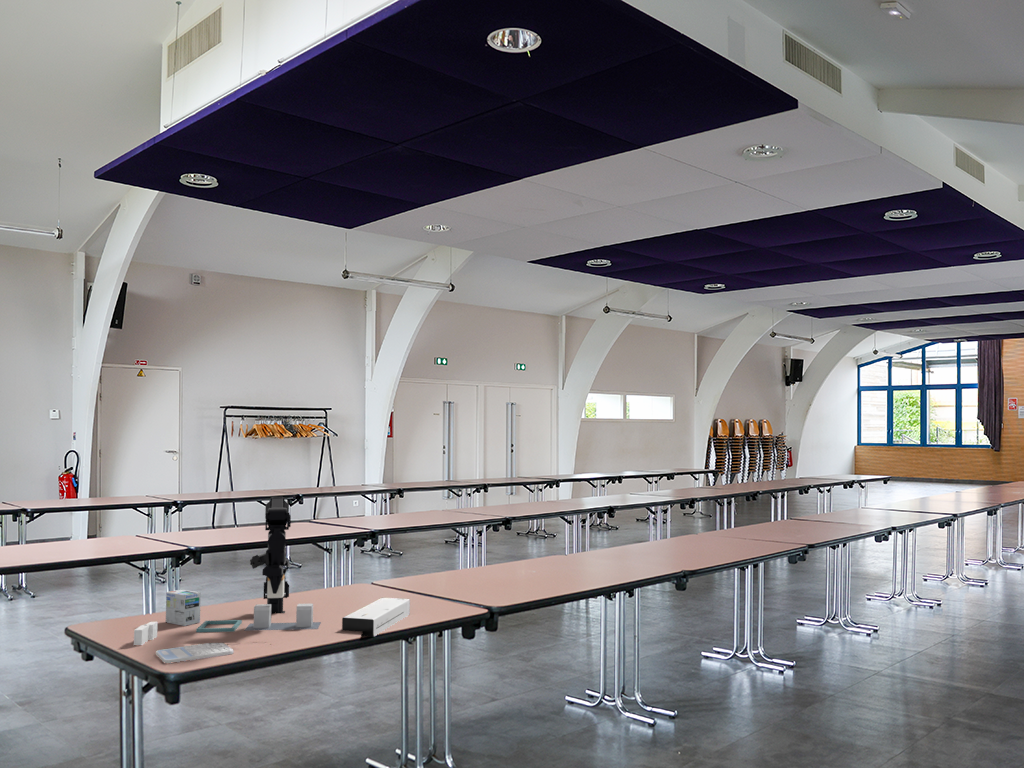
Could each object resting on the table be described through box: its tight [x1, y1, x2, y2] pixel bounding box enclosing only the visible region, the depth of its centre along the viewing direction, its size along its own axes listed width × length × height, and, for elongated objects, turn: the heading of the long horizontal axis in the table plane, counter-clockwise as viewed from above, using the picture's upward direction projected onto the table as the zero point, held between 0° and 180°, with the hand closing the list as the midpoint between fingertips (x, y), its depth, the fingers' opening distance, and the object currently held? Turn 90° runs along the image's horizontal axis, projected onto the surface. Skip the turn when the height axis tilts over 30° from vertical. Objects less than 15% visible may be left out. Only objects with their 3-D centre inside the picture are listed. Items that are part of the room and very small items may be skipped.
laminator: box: [341, 597, 411, 638], centre depth 291 cm, size 34×12×6 cm, turn 166°
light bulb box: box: [165, 589, 202, 627], centre depth 292 cm, size 11×7×11 cm, turn 59°
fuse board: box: [243, 621, 322, 632], centre depth 281 cm, size 10×24×2 cm, turn 96°
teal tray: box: [195, 619, 242, 633], centre depth 279 cm, size 12×12×2 cm
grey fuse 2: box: [295, 603, 314, 627], centre depth 282 cm, size 4×5×7 cm
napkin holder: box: [133, 621, 158, 646], centre depth 267 cm, size 15×11×6 cm
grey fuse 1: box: [253, 603, 272, 628], centre depth 280 cm, size 4×5×7 cm
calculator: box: [155, 642, 234, 664], centre depth 252 cm, size 13×20×2 cm, turn 125°
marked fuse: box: [266, 574, 286, 599], centre depth 281 cm, size 4×5×7 cm
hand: (275, 592), depth 281 cm, fingers closed on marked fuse, 4 cm apart
